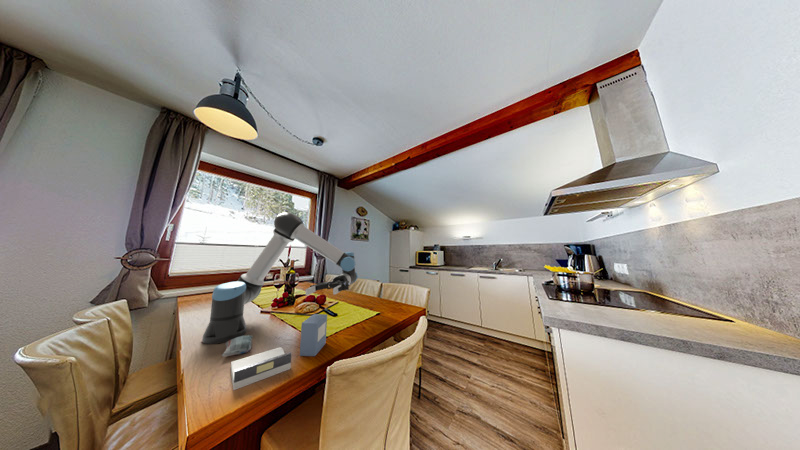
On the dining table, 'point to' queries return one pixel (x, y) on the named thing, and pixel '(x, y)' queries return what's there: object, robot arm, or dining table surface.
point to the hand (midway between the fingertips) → (319, 291)
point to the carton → (313, 334)
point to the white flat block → (259, 367)
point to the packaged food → (238, 345)
